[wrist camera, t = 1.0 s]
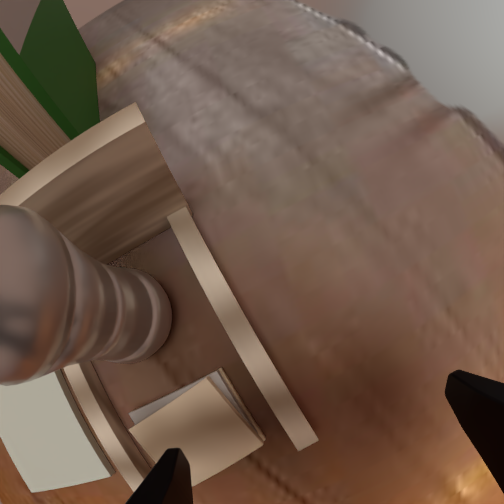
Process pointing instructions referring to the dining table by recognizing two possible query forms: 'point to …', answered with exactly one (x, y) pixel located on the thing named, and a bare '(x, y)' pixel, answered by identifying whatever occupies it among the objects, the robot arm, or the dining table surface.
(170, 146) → the dining table surface
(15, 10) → the hardback book
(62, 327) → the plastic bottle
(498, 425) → the robot arm
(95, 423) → the birch rack
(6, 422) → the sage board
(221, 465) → the offcut stack
